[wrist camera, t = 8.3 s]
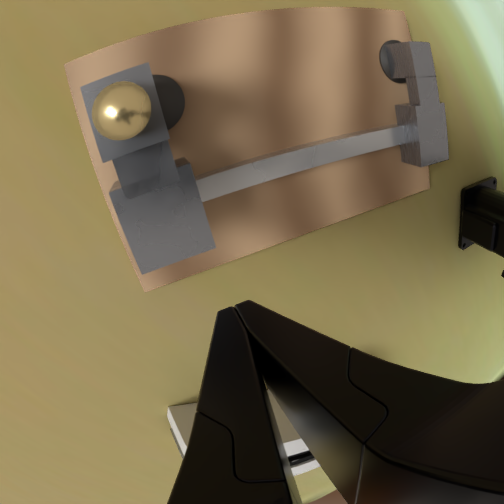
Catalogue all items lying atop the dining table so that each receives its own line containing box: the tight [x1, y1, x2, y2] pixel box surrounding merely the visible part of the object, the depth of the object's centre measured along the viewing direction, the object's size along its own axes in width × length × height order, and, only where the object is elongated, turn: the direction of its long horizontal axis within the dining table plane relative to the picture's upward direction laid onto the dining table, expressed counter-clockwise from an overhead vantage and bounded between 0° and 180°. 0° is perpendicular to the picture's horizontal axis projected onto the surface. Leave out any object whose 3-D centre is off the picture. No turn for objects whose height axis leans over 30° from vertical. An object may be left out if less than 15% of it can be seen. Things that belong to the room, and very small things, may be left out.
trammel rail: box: [194, 41, 449, 202], centre depth 16 cm, size 20×8×3 cm, turn 103°
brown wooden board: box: [64, 7, 430, 292], centre depth 18 cm, size 22×14×1 cm, turn 103°
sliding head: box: [80, 62, 216, 275], centre depth 13 cm, size 4×8×7 cm, turn 13°
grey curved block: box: [167, 390, 320, 476], centre depth 24 cm, size 17×5×10 cm, turn 87°
